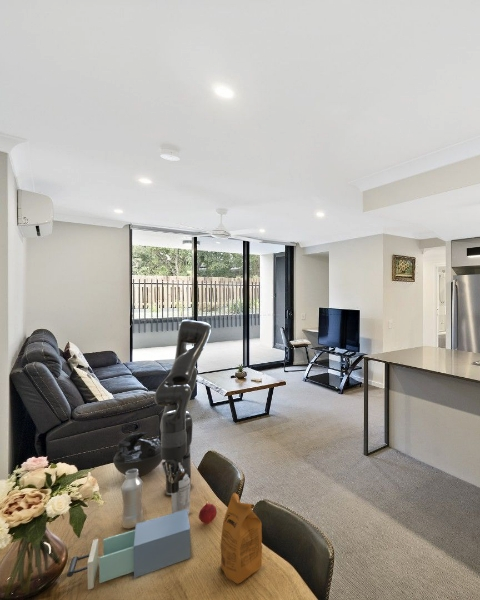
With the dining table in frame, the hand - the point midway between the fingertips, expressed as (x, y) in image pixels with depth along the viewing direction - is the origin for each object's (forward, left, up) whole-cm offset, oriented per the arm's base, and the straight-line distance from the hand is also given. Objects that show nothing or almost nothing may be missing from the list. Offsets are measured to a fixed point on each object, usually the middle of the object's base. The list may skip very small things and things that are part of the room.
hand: (174, 491), depth 125 cm
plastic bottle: (-17, -13, -17) cm, 27 cm away
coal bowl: (-61, -12, -17) cm, 64 cm away
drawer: (+7, -17, -15) cm, 24 cm away
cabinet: (+7, -4, -16) cm, 18 cm away
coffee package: (+27, +16, -17) cm, 36 cm away
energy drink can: (-14, +2, -17) cm, 22 cm away
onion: (-3, +10, -17) cm, 20 cm away
